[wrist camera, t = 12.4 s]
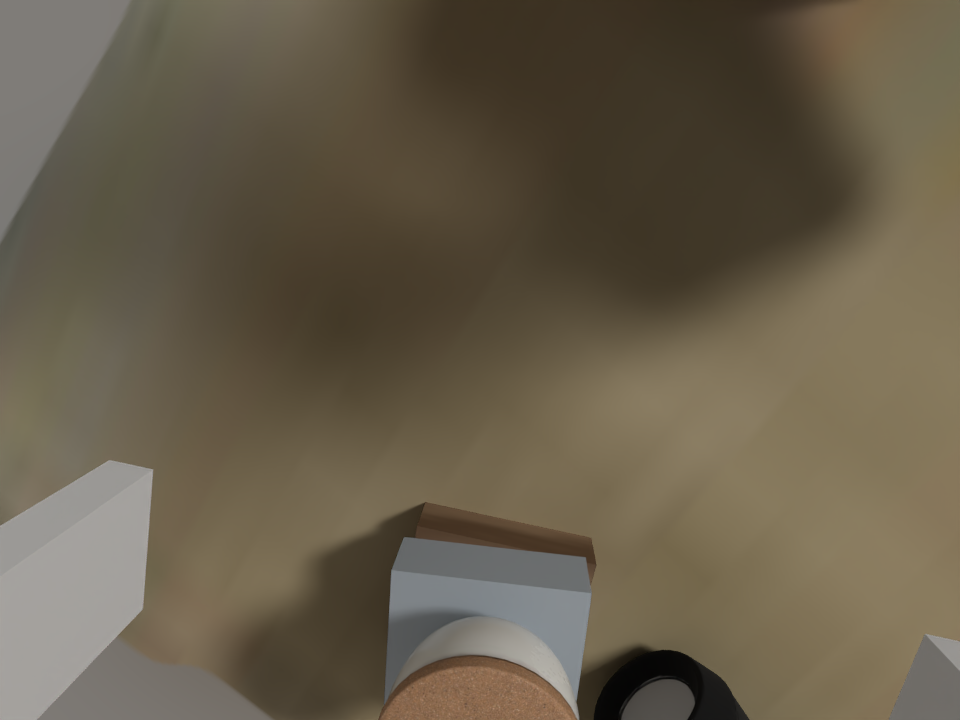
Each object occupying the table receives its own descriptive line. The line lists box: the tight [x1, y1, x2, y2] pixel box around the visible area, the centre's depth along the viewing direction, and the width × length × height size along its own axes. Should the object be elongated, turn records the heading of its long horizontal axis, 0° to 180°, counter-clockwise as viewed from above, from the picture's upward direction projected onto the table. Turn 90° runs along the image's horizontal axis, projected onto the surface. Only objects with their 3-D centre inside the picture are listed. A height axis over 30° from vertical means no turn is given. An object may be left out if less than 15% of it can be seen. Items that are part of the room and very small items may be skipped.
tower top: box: [384, 537, 592, 705], centre depth 41 cm, size 12×12×4 cm
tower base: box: [415, 502, 596, 586], centre depth 45 cm, size 12×12×4 cm
